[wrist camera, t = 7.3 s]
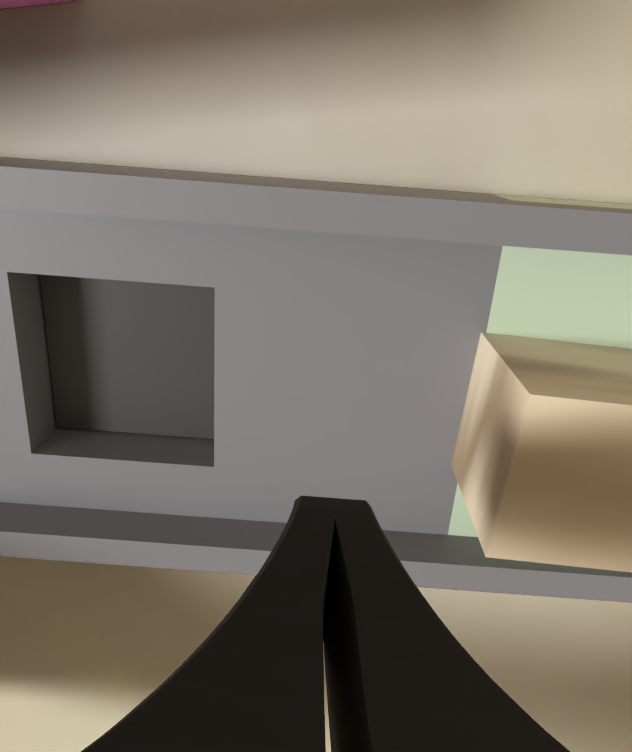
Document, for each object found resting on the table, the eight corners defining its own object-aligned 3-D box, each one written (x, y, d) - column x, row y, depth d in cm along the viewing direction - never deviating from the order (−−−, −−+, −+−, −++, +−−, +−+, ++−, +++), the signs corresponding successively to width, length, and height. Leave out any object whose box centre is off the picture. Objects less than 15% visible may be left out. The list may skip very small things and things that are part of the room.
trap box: (617, 536, 22) (666, 605, 19) (-225, 474, 22) (-321, 532, 19) (723, 211, 17) (812, 227, 14) (-338, 131, 17) (-493, 129, 14)
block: (588, 478, 19) (662, 575, 15) (451, 464, 19) (485, 557, 14) (631, 349, 17) (729, 415, 13) (481, 332, 17) (530, 394, 13)
